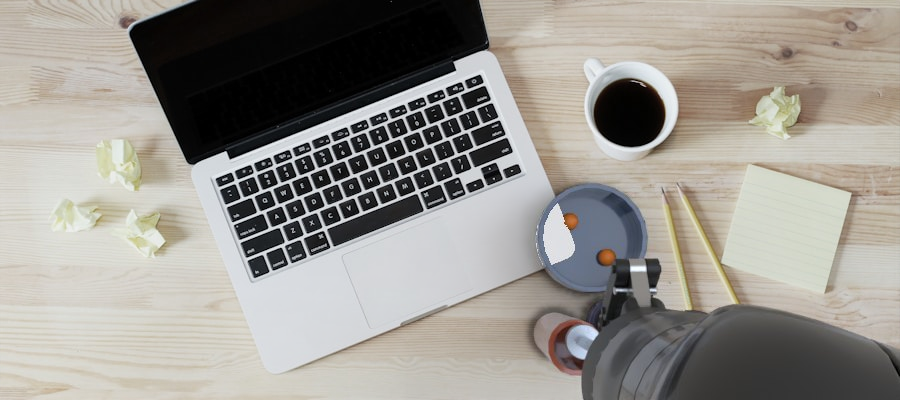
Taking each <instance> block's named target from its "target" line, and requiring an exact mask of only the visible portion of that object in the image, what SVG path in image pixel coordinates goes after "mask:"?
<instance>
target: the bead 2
mask: <svg viewBox="0 0 900 400" xmlns="http://www.w3.org/2000/svg"><path fill="white" fill-rule="evenodd" d="M598 258H599V261H600V263H601V264H602V265H605V266H610V265H612V264H613V260H614V259H616V255H615V253H614V251H612V250H611V249H604V250H602V251H601V252H600V253H599V257H598Z"/></svg>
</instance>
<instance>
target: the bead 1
mask: <svg viewBox="0 0 900 400" xmlns="http://www.w3.org/2000/svg"><path fill="white" fill-rule="evenodd" d="M563 217H564V220H565V222H564V224H565V225H567V226H566V227H568V229H569V230H573V229H575V228H576V227H577V225H578V218H577V216H576V215H575V214H573V213H567V214H565V215H564V216H563Z"/></svg>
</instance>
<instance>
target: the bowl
mask: <svg viewBox="0 0 900 400" xmlns="http://www.w3.org/2000/svg"><path fill="white" fill-rule="evenodd" d="M557 203H558V204H559V206H560V209H561V211H562V214H563V216H564V215H565V214H567V213H573V214H575V215H576V216H577V218H578V225H577V227H576V228H575V229H573V230H570V233H571V235H572V238H573V241H574V244H575V251H574V253H573V255H572V256H571V257H569V258H568V259H565V260H563V261H561V262H558V263H555V264H553V265H551V263H550V261H549V258H548V256H547V254H546V252H545V247H544V241H543V234H544V225H545V222H546V220H547V218H548V215H549V213H550V211H551V210H552V209H553V207H554V206H555V205H556V204H557ZM543 211H544V212H543ZM543 211H542V213H543V214H542V213H541V215H542V216H541V215H540V217H541V219H540V218H539V219H540V221H539V220H538V222H539V223H538V222H537V224H538V228H537V227H536V228H537V235H536V243H537V249H538V254H539V257H540V259H541V261H542V263H543V266H544V268H543V269H544V270H545V272H546V273H547V274H548V275H549V276H550V278H551V279H552V280H554V281H555V282H556V283H558V284H559V285H561V286H563V287H565V288H567V289H570V290H573V291H577V292H581V293H605V292H606V288H607V284H608V280H609V276H610V272H611V265H610V266H605V265H602V264H601V263H600V261H599V258H598V257H599V253H600V252H601V251H602V250H604V249H611V250H612V251H614V253H615V255H616V259H642V258H644V259H645V258H646V257H645V256H646V254H647V248H648V239H649V235H648V229H647V224H646V221H645V218H644V216H643V215H642V212H641V210H640V208H639V207H638V205H637V204H636V203H634V201H633V200H632V199H631V198H630V197H629V196H628V195H626V194H624V193H623V192H622V191H620V190H618V189H617V188H615V187H612V186H609V185H605V184H601V183H581V184H578V185H574V186H571V187H569V188H567V189H565V190H563V191H561V192H560V193H559V194H558V195H556V196H555V197H554V198H552V200H551V202H550V203H549V204H548V205H547V206H546V207H545V208H544V210H543ZM543 266H542V267H543Z"/></svg>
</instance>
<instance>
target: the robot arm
mask: <svg viewBox="0 0 900 400" xmlns="http://www.w3.org/2000/svg"><path fill="white" fill-rule="evenodd" d="M661 274H662V265H661V264H660V259H659V258H658V257H655V258H649V257H648V258H646V257H644V258H642V259H614V260H613V264H612V265H611V272H610V276H609V280H608V284H607V288H606V291H605V292H604V297H603V299H604V301H603V307H601V314H602V315H603V318H604V321H610V323H609V324H608V325H607V326H606V327H602V331H601V332H600V333H599V334H598V335H597V336H596V338H595V339H594V341H593V342H592V344H591V346H590V347H589V349H588V352H587V354H586V357H585V360H584V363H583V368H582V375H581V376H580V377H581V378H580V380H581V381H580V385H581V386H580V387H581V394H582V400H900V349H899V348H897V347H894V346H892V345H888V344H886V343H883V342H880V341H877V340H875V339H872V338H869V337H866V336H864V335H861V334H859V333H856V332H853V331H851V330H848V329H844V328H842V327H839V326H836V325H833V324H830V323H828V322H825V321H821V320H819V319H815V318H813V317H810V316H805V315H803V314H800V313H795V312H791V311H787V310H783V309H778V308H773V307H769V306H763V305H756V304H748V303H746V304H745V303H733V304H727V305H724V306H723V305H722V306H720V307H716V308H715V309H713V310H711V311H710V312H705V311H702V310H698V309H697V310H696V309H685V310H678V309H671V308H666V306H665V304H664V302H663V301H662V300H661V299H659V298H658V297H654V296H657V295H658V287H657V286H658V283H659V281H660V277H661Z"/></svg>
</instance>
